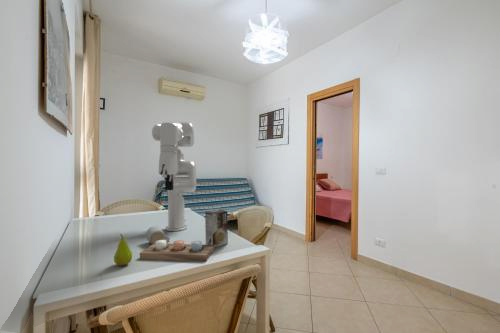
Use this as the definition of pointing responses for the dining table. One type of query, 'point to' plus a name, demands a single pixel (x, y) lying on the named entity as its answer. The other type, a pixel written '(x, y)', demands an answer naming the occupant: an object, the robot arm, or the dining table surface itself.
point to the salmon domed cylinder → (178, 245)
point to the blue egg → (196, 246)
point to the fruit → (122, 253)
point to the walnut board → (177, 253)
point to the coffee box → (216, 228)
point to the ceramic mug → (155, 235)
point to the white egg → (160, 245)
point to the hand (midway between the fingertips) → (169, 189)
